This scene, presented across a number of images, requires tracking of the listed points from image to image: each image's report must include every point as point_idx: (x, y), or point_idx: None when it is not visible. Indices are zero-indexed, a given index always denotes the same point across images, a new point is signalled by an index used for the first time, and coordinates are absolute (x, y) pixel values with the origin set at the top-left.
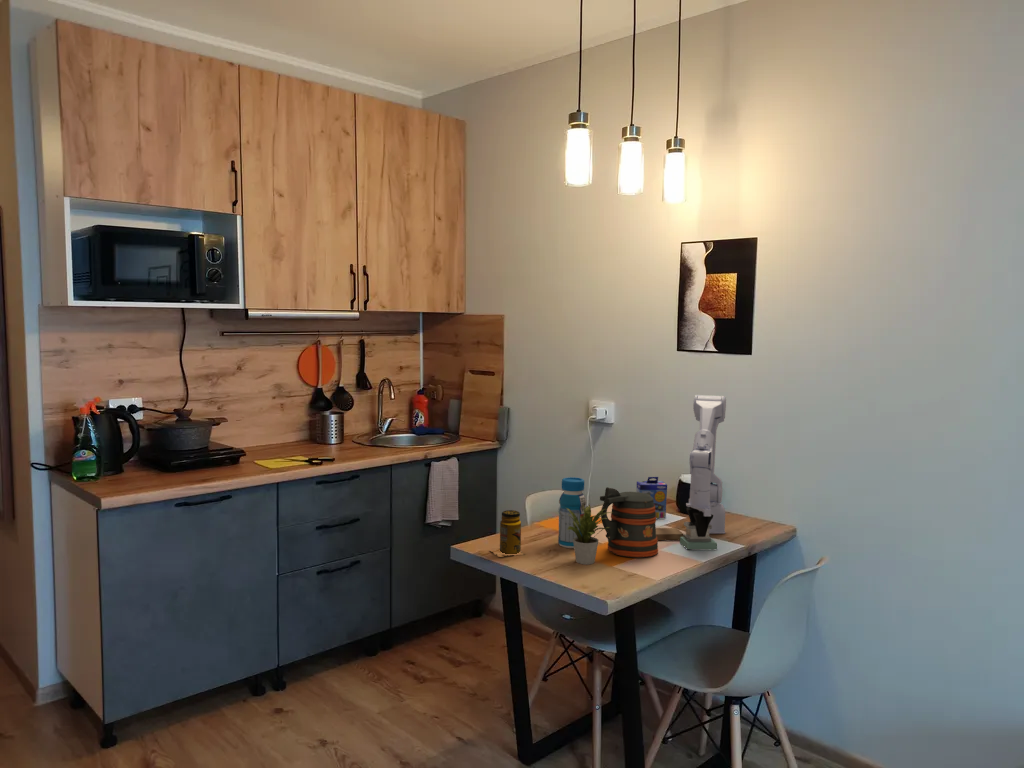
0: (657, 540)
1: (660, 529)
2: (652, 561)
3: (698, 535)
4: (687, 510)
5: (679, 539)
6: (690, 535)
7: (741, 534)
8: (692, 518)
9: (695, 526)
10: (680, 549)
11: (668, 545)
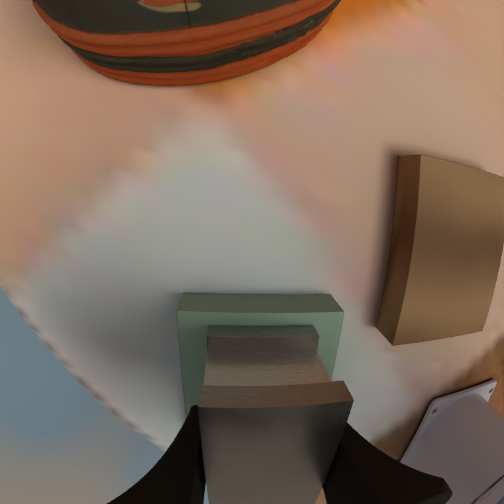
0: (102, 51)
1: (488, 234)
2: (26, 49)
3: (190, 410)
4: (407, 498)
5: (383, 308)
6: (210, 366)
7: None
8: (347, 473)
9: (202, 445)
10: (202, 255)
11: (297, 205)
